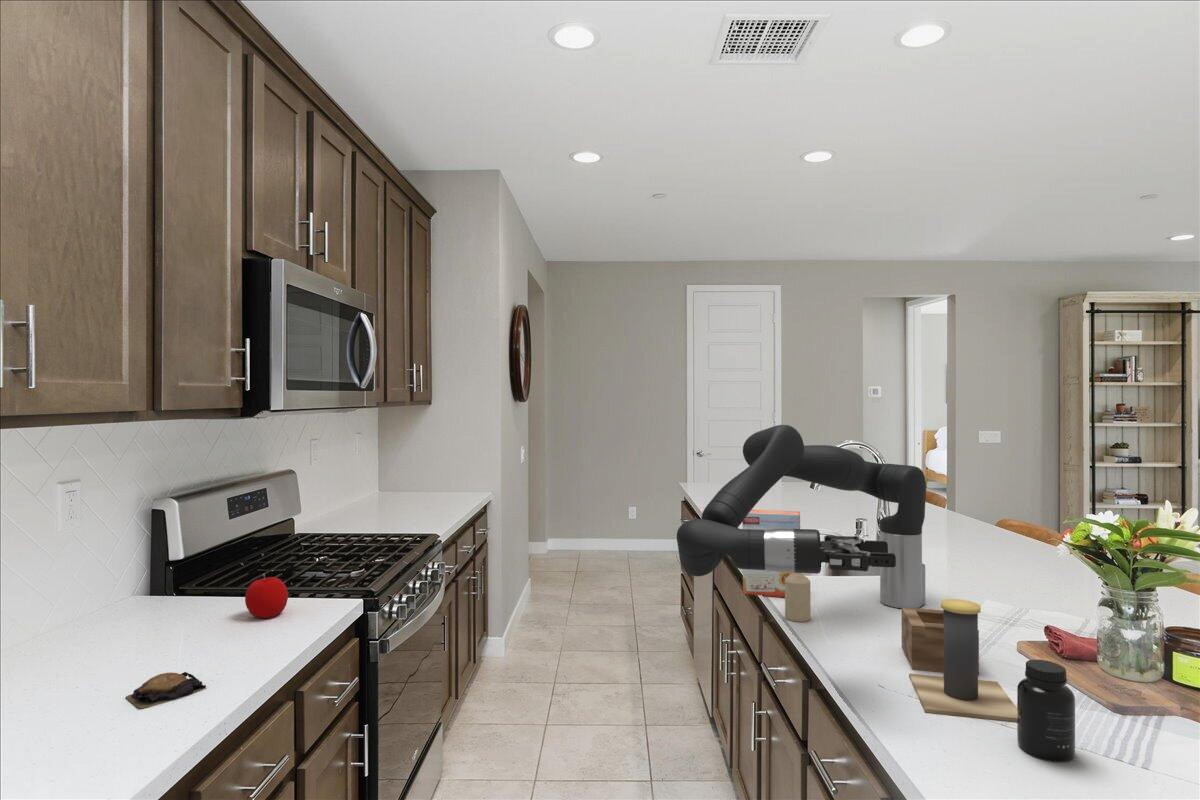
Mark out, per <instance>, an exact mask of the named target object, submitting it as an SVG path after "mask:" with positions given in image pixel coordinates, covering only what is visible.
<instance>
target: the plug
mask: <svg viewBox="0 0 1200 800" xmlns="http://www.w3.org/2000/svg"><path fill="white" fill-rule="evenodd" d="M940 608H941V610H944V672H943V677H944V693H945V694H946V695H948V696H950V697H953V698H956V699H960V700H976V699H977V698H978V680H979V675H978V630H979V622H978V621H979V617H978V616H979V614H980V613H981V609H982V606H981V605H980V604H979V603H977V602H974V601H970V600H966V599H960V598H959V599H955V598H947V599H942V600H941V601H940Z"/></svg>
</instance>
